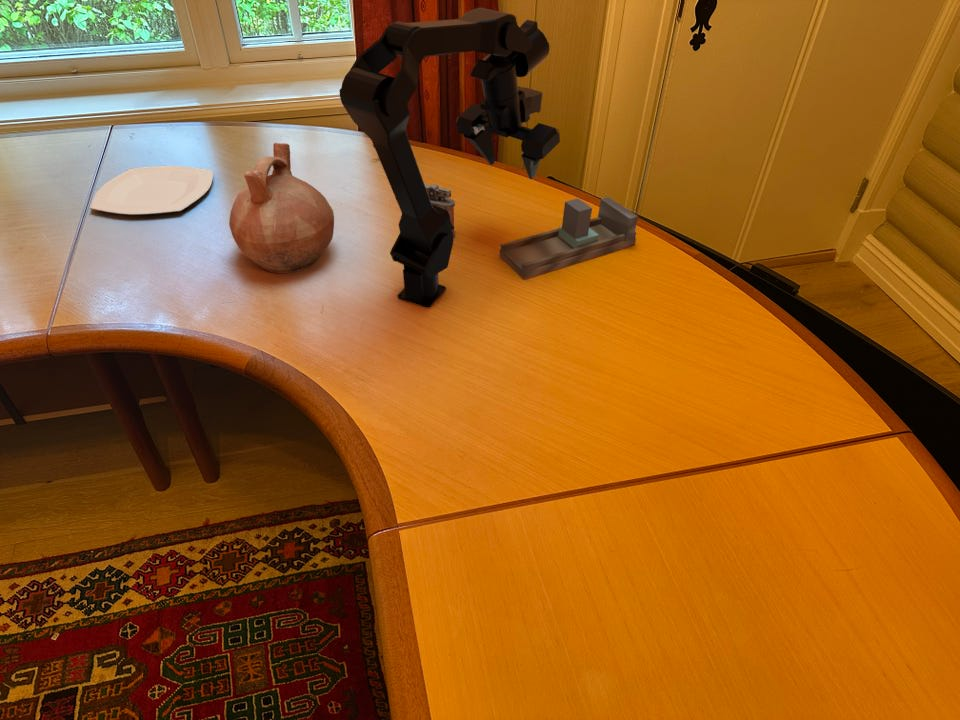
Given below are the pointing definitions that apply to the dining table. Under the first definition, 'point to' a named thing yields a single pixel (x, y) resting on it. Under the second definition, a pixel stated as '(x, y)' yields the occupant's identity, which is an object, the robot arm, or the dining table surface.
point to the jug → (280, 216)
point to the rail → (555, 253)
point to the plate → (153, 190)
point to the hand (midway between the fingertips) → (512, 170)
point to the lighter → (442, 200)
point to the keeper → (577, 224)
